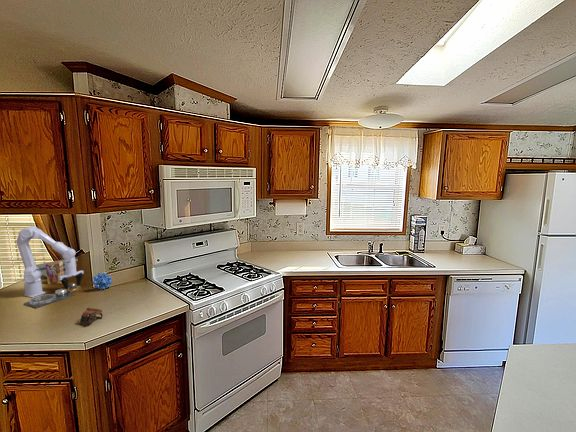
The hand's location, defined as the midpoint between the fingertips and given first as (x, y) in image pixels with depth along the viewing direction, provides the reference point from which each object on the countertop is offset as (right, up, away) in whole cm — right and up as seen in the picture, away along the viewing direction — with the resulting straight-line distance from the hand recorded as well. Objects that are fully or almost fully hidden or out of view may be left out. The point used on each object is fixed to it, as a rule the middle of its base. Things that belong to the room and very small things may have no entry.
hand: (72, 286), depth 194 cm
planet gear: (0, -2, 0) cm, 2 cm away
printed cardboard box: (-34, +1, +30) cm, 45 cm away
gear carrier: (-3, -4, -15) cm, 16 cm away
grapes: (+21, -2, 0) cm, 21 cm away
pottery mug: (+42, -8, -43) cm, 60 cm away
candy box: (-22, -1, +14) cm, 26 cm away
